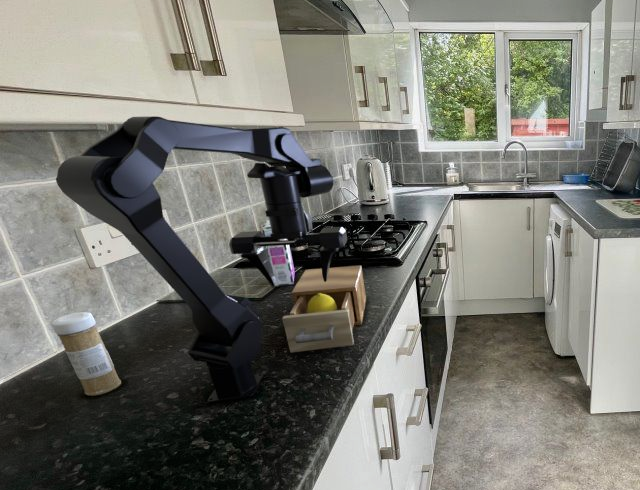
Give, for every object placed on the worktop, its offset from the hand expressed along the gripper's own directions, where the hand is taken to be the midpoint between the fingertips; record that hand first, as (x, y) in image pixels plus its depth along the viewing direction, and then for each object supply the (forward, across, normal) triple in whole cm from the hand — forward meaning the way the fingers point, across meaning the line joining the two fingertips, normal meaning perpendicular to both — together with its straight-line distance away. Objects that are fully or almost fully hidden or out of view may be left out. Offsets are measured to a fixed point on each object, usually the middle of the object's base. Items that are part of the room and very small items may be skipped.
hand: (300, 283), depth 79 cm
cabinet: (+13, -3, -12) cm, 18 cm away
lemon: (+11, -3, -1) cm, 11 cm away
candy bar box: (+13, +15, -40) cm, 45 cm away
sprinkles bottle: (+13, +31, +9) cm, 35 cm away
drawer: (+12, -3, +1) cm, 12 cm away
